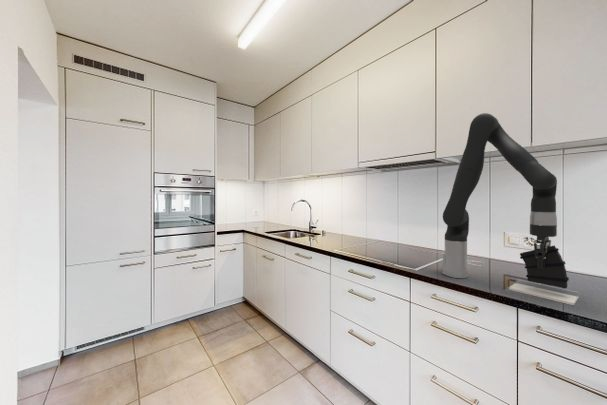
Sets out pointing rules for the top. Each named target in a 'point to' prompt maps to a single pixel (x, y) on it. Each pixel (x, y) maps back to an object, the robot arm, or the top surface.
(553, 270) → the magazine
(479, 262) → the pliers
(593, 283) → the top surface
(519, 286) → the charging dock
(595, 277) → the top surface
